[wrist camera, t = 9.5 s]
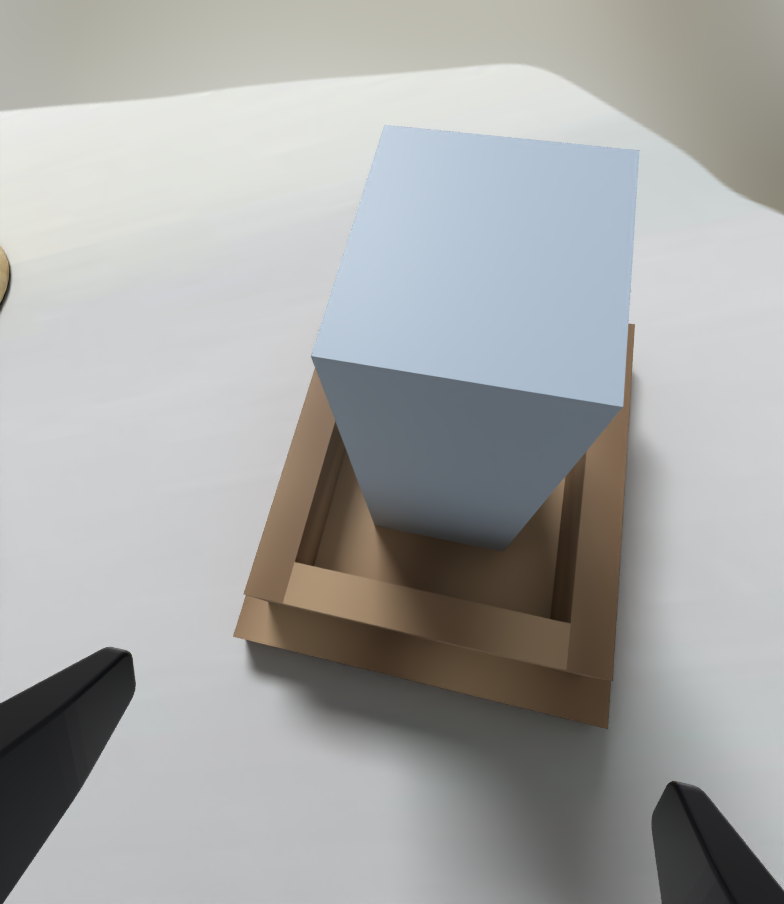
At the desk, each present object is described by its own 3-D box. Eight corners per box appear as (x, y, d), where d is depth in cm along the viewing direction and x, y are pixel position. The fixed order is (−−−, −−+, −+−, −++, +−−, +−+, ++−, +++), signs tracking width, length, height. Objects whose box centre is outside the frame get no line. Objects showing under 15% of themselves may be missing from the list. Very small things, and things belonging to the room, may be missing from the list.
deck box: (372, 525, 18) (307, 355, 8) (402, 400, 19) (381, 124, 9) (504, 552, 17) (626, 407, 7) (522, 420, 19) (642, 151, 9)
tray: (244, 637, 18) (202, 634, 14) (344, 312, 23) (330, 251, 19) (594, 723, 16) (641, 743, 13) (621, 354, 21) (660, 297, 18)
